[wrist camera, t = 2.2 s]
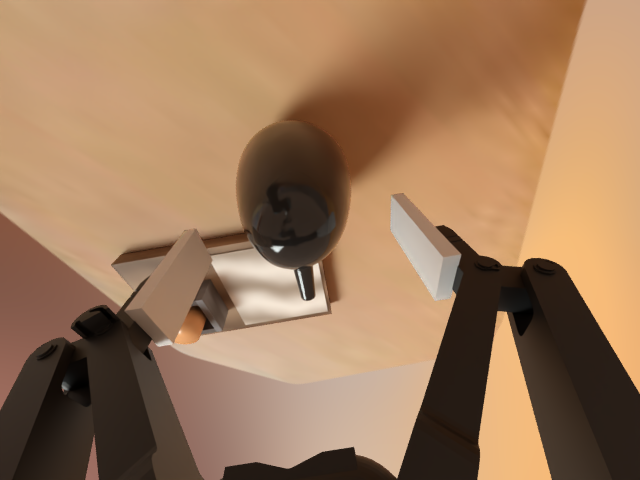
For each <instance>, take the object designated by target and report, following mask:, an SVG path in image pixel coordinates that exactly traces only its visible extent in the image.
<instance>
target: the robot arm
mask: <svg viewBox="0 0 640 480" xmlns="http://www.w3.org/2000/svg"><path fill="white" fill-rule="evenodd" d="M390 230H391V232H392V233H393V235H394V237H395V238H396V240H397V241H398V243H399V244H400V246H401V248H402V249H403V251H404V252H405V254H406V256H407V257H408V259H409V260H410V262H411V264H412V265H413V267H414V268H415V270H416V271H417V273H418V275H419V276H420V278H421V279H422V281H423V283H424V284H425V286H426V287H427V289H428V291H429V292H430V294H431V295H432V297H433V298H434V300H435V301H438V300H444V299H450V298H451V295H452V291H454V292H455V293H456V298H455V301H454V304H453V307H452V311H451V314H450V317H449V320H448V323H447V326H446V330H445V333H444V336H443V339H442V342H441V345H440V348H439V352H438V355H437V358H436V361H435V364H434V367H433V371H432V374H431V377H430V380H429V383H428V386H427V390H426V393H425V396H424V399H423V402H422V405H421V408H420V411H419V413H418V416H417V419H416V422H415V425H414V428H413V431H412V434H411V438H410V440H409V444H408V447H407V450H406V453H405V456H404V459H403V463H402V466H401V469H400V472H399V475H398V478H396V477H395V476H393V475H392V474H391V473H390V472H389V471H388V470H387V469H386V468H384V467H383V466H382V465H380V464H379V463H377V462H375V461H373V460H371V459H369V458H366V457H363V456H358V455H356V454H355V450H354V447H351V448H344V449H338V450H332V451H325V452H321V453H319V454H317V455H316V456H314V457H312V458H310V459H308V460H306V461H304V462H302V463H300V464H298V465H296V466H294V467H292V468H290V469H285V468H281V467H276V466H271V465H267V464H262V463H258V462H255V463H248V464H242V465H235V466H229V467H225V471H224V476H223V478H222V479H220V480H477V477H478V470H479V461H480V449H479V445H478V439H479V431H480V424H481V417H482V410H483V404H484V398H485V391H486V384H487V376H488V371H489V364H490V357H491V350H492V344H493V337H494V330H495V323H496V317H497V311H504V312H507V314H508V318H509V321H510V326H511V329H512V333H513V337H514V340H515V344H516V347H517V351H518V355H519V359H520V363H521V366H522V370H523V374H524V377H525V381H526V385H527V389H528V392H529V396H530V400H531V403H532V407H533V411H534V415H535V418H536V422H537V426H538V430H539V433H540V437H541V441H542V444H543V448H544V452H545V456H546V459H547V463H548V467H549V470H550V474H551V478H552V480H640V394H639V392H638V390H637V389H636V387H635V386H634V384H633V382H632V380H631V378H630V377H629V375H628V373H627V372H626V370H625V369H624V367H623V365H622V363H621V362H620V360H619V358H618V357H617V355H616V353H615V352H614V350H613V348H612V347H611V345H610V343H609V342H608V340H607V338H606V337H605V335H604V334H603V332H602V330H601V329H600V327H599V325H598V323H597V322H596V320H595V318H594V317H593V315H592V313H591V311H590V310H589V308H588V306H587V305H586V303H585V301H584V300H583V298H582V297H581V295H580V293H579V291H578V290H577V288H576V286H575V285H574V283H573V281H572V280H571V278H570V276H569V275H568V273H567V271H566V270H565V269H564V268H563V267H562V266H560V265H559V264H557V263H555V262H553V261H550V260H547V259H541V258H531V259H528V260H526V261H525V262H524V265H523V266H522V267H512V266H502V265H501V264H500V263H499V262H498V261H496V260H495V259H493V258H490V257H486V256H479V255H478V254H477V253H476V252H475V251H474V250H473V249H472V248H471V247H470V246H469V245H468V244H467V243H466V242H465V241H463V240H462V239H461V238H460V237H459V236H458V235H457V234H456V233H455V232H454V231H453V230H452V229H450V228H448V227H446V226H444V225H442V226H436V227H435V226H434V225H433V224H432V223H431V222H430V221H429V220H428V219H427V218H426V217H425V216H424V215H423V214H422V213H421V211H420V210H419V209H418V208H417V207H416V206H415V205H414V204H413V203H412V202H411V201H410V200H409V199H408V198H407V197H406V196H405V195H404V194H403V193H400V194H394V195H391V227H390ZM212 261H213V260H212V258H211V256H210V254H209V252H208V250H207V249H206V247H205V245H204V243H203V241H202V239H201V237H200V235H199V233H198V232H197V230H196V229H191V230H185V231H184V232H183V233H182V235H181V236H180V237H179V239H178V240H177V241H176V243H175V244H174V245H173V247H172V248H171V249H170V251H169V252H168V253H167V255H166V256H165V257H164V259H163V260H162V261H161V263H160V264H159V265H158V267H157V268H156V269H155V271H154V272H153V273H152V275H151V276H148V277H147V278H146V279H145V280H144V281H142V282H141V283H140V284H139V286H138V287H137V288H136V290H135V291H134V292H133V293H132V295H131V297H130V298H129V299H128V300H127V301H126V303H125V304H124V305H123V306H122V308H121V309H120V311H119V312H118V313H117V314H116V315H115V314H114V313H113V312H112V311H111V310H110V309H109V308H108V307H107V306H106V305H100V306H96V307H94V308H92V309H90V310H88V311H86V312H84V313H83V314H81V315H80V316H79V317H78V318H77V319H76V320H75V321H74V322H73V323H72V326H71V329H73V330H74V331H75V332H76V333H77V334H79V335H80V336H81V337H82V338H83V339H80V340H78V341H75V342H72V343H70V342H69V341H67V340H66V339H65V338H56V339H53V340H51V341H49V342H47V343H45V344H43V345H41V347H39V348H37V349H36V350H35V351H34V352H33V353H32V354H31V355H30V356H29V358H28V359H27V360H26V362H25V364H24V366H23V368H22V370H21V372H20V374H19V376H18V378H17V380H16V381H15V383H14V385H13V387H12V389H11V391H10V393H9V395H8V397H7V399H6V401H5V402H4V404H3V406H2V408H1V410H0V480H85V478H86V473H87V468H88V462H89V457H90V452H91V447H92V442H93V437H94V435H95V445H96V454H97V465H98V474H99V480H204V479H203V478H202V476H201V475H200V473H199V471H198V468H197V466H196V463H195V461H194V458H193V456H192V453H191V450H190V448H189V445H188V443H187V440H186V438H185V435H184V432H183V430H182V427H181V425H180V422H179V420H178V417H177V414H176V412H175V409H174V407H173V404H172V402H171V399H170V396H169V394H168V391H167V389H166V386H165V384H164V381H163V378H162V376H161V373H160V371H159V368H158V366H157V363H156V361H155V358H154V355H153V353H152V350H151V349H150V348H148V345H149V344H150V342H151V340H153V341H154V342H155V344H157V345H158V346H164V345H170V344H174V341H175V339H176V337H177V335H178V333H179V331H180V329H181V327H182V324H183V322H184V320H185V318H186V316H187V314H188V312H189V310H190V307H191V305H192V303H193V301H194V299H195V297H196V295H197V293H198V290H199V288H200V286H201V284H202V282H203V280H204V278H205V276H206V273H207V271H208V269H209V267H210V265H211V263H212ZM62 388H63V389H64V392H63V391H62Z"/></svg>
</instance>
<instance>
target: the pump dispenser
mask: <svg viewBox="0 0 640 480" xmlns="http://www.w3.org/2000/svg"><path fill="white" fill-rule="evenodd" d="M236 197H237V205H238V211H239V216H240V220H241V223H242V226H243V229H244V231H245V234H246V236H247V238H248V240H249V241H250V243H251V245H252V246H253V247H254V249H255V250H256V251H257V252H258V253H259V254H260V255H261V256H262V257H263V258H264V259H265V260H266V261H268V262H269V263H271V264H272V265H274V266H277V267H280V268H284V269H290V270H294V273H295V277H296V281H297V284H298V288H299V292H300V295H301V298H302V299H303V300H304V301H310V300H313V299H314V298H315V296H316V293H315V283H314V273H313V265H315V264H317V263H319V262H320V261H322V260H323V259H325V258H326V257H327V256H328V255H329V254H330V253H331V252H332V251H333V249H334V248H335V247H336V245H337V244H338V242H339V240H340V238H341V236H342V234H343V232H344V229H345V226H346V223H347V219H348V215H349V209H350V202H351V178H350V171H349V166H348V162H347V159H346V157H345V155H344V153H343V151H342V149H341V147H340V146H339V144H338V143H337V142H336V140H335V139H334V138H333V137H332V136H331V135H330V134H329V133H327V132H326V131H325V130H323V129H322V128H320V127H318V126H316V125H314V124H311V123H308V122H305V121H299V120H286V121H280V122H276V123H273V124H271V125H269V126H267V127H265V128H263V129H262V130H260V131H259V132H258V133H257V134H255V135H254V136H253V137H252V139H251V140H250V141H249V142H248V144H247V145H246V147H245V149H244V151H243V153H242V155H241V158H240V161H239V165H238V170H237V177H236Z"/></svg>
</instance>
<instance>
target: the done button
mask: <svg viewBox="0 0 640 480" xmlns="http://www.w3.org/2000/svg"><path fill="white" fill-rule="evenodd" d="M206 319H207V317H206V316H205V314H204V313H203V311H202V310H201V308H200V307H199V306H191V307H190V310H189V312H188V314H187V316H186V318H185V320H184V322H183V324H182V327H181V329H180V331H179V333H178V335H177V337H176V339H175V341H174V342H175V343H178V344H191V343H194V342H196V341H198V340H199V338H200V335H201V333H202V330H203V327H204V324H205V322H206Z"/></svg>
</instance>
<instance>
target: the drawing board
mask: <svg viewBox="0 0 640 480" xmlns="http://www.w3.org/2000/svg"><path fill="white" fill-rule="evenodd" d="M203 243H204V245H205V247H206V249H207V250H208V252H209V254H210V256H211V258H212V260H213V261H212V263H211V265H210V267H209V269H208V271H207V273H206V276H205V278H204V280H203V282H202V284H201V286H200V288H199V290H198V293H197V295H196V297H195V299H194V301H193V303H192V305H191V306H199V307H200V308H201V310H202V311H203V313H204V314H205V316H206V317H207V319H206V322H205V324H204V327H203V330H202V333H201V335H207V334H213V333H219V332H225V331H231V330H237V329H243V328H249V327H255V326H261V325H267V324H273V323H279V322H285V321H291V320H297V319H303V318H309V317H315V316H321V315H327V314H332V313H331V306H330V301H329V295H328V290H327V284H326V279H325V274H324V268H323V263H322V261H320V262H319V263H317V264H315V265H313V273H314V283H315V293H316V296H315V298H314V299H313V300H310V301H304V300H303V299H302V298H301V295H300V292H299V288H298V284H297V281H296V277H295V273H294V270H290V269H284V268H280V267H277V266H274V265H272V264H271V263H269V262H268V261H266V260H265V259H264V258H263V257H262V256H261V255H260V254H259V253H258V252H257V251H256V250H255V249H254V247H253V246H252V245H251V243H250V241H249V240H248V238H247V236H246V234H245V233H244V234H238V235H232V236H226V237H221V238H215V239H209V240H203ZM172 247H173V246H168V247H163V248H157V249H151V250H145V251H139V252H134V253H128V254H122V255H120V256H119V257H118V258H117V259H116V260H115V261H114V262H113V263H112V264H111V266H112V267H113V268H114V269H115V270H116V271H117V272H118V273H119V275H120V276H121V277H122V278H123V279H124V280H125V281H126V282H127V284H128V285H129V286H130V287H131V288H132V289H133V290H134V291H135V290H136V288H137V287H138V286H139V284H140V283H141V282H142V281H144V280H145V279H146V278H147V277H148V276H151V275H152V273H153V272H154V271H155V269H156V268H157V267H158V265H159V264H160V263H161V261H162V260H163V259H164V257H165V256H166V255H167V253H168V252H169V251H170V249H171V248H172ZM201 335H200V336H201Z"/></svg>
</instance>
